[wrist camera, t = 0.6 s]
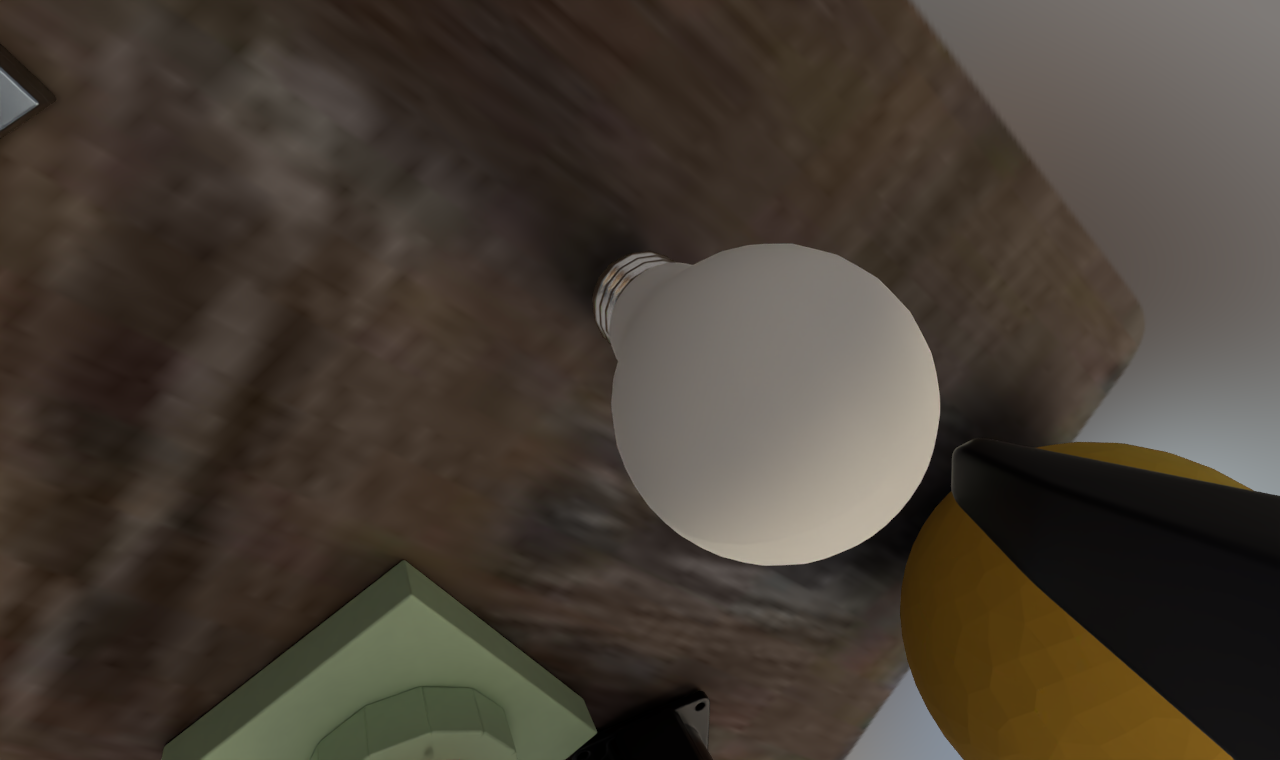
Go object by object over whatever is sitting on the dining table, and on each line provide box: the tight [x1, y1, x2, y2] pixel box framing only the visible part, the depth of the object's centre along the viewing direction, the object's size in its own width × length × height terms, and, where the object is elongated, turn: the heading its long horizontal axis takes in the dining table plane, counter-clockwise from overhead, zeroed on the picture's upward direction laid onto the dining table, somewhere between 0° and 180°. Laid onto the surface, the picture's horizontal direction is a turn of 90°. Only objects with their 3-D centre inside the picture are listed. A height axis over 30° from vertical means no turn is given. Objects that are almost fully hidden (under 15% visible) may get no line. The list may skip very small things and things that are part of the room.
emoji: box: [900, 442, 1253, 760], centre depth 27 cm, size 16×16×15 cm
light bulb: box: [592, 243, 940, 566], centre depth 16 cm, size 7×7×11 cm
